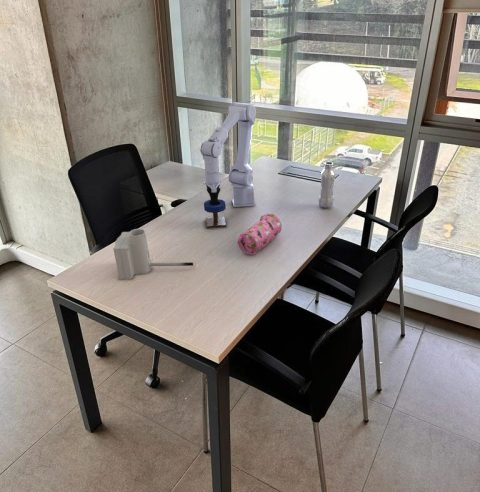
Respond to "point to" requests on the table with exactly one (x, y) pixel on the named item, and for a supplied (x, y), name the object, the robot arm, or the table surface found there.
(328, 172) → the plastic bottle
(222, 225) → the stand
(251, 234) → the pencil case
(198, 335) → the table surface
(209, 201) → the ring
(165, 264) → the electronic device
